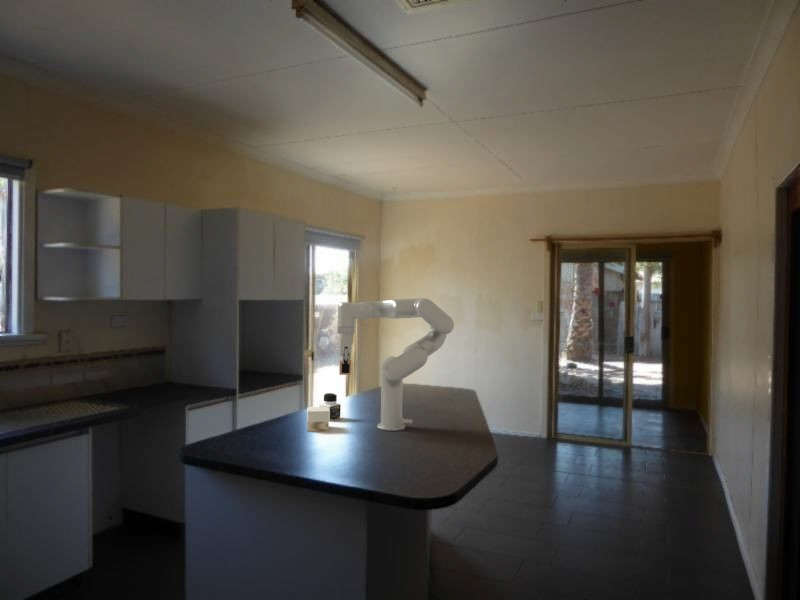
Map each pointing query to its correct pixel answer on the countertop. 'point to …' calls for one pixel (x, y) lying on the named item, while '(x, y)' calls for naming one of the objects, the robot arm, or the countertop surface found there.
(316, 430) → the beech block
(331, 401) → the medicine bottle
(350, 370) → the terracotta block
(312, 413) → the cream block
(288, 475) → the countertop surface
